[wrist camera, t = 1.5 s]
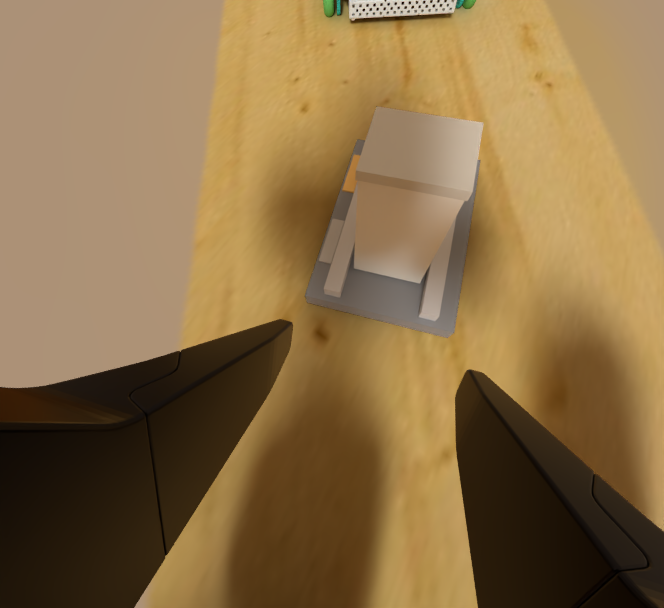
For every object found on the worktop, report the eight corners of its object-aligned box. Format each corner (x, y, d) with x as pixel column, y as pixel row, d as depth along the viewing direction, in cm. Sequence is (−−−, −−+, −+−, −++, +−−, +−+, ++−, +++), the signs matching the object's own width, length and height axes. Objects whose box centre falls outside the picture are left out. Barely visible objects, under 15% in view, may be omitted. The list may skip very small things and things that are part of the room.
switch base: (447, 337, 23) (461, 326, 20) (307, 302, 24) (301, 287, 21) (473, 173, 28) (487, 145, 25) (356, 152, 29) (357, 124, 27)
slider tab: (420, 285, 22) (472, 191, 13) (352, 269, 23) (355, 170, 14) (430, 237, 24) (483, 122, 15) (365, 223, 24) (376, 106, 15)
